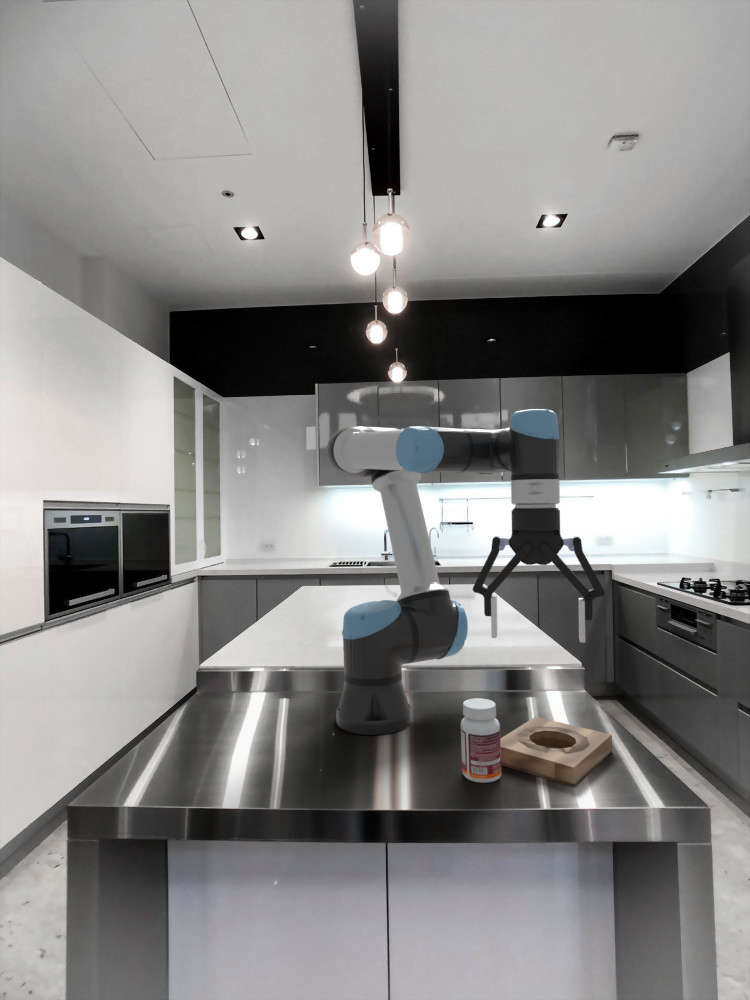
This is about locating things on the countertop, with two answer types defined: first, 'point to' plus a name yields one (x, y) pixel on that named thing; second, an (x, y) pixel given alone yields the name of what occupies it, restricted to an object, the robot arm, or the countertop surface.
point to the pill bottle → (480, 741)
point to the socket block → (555, 750)
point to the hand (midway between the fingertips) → (537, 638)
